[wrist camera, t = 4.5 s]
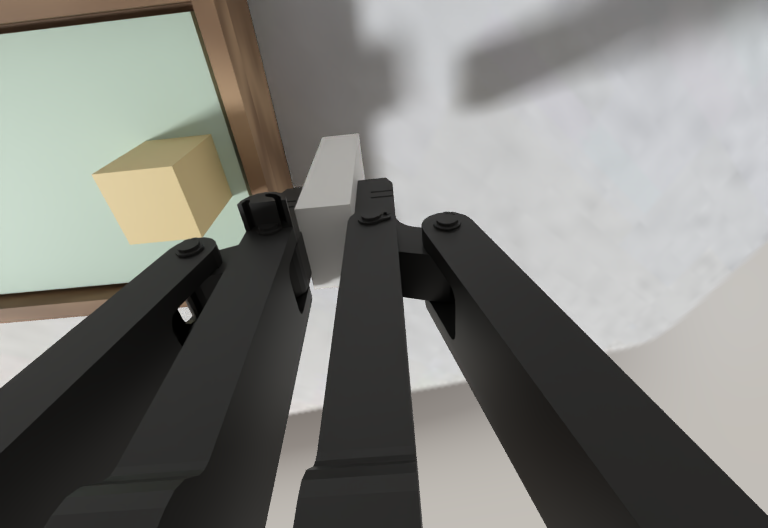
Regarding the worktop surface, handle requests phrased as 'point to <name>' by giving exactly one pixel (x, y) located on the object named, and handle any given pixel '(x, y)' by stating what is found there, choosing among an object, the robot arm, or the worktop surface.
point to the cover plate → (111, 151)
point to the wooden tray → (238, 92)
